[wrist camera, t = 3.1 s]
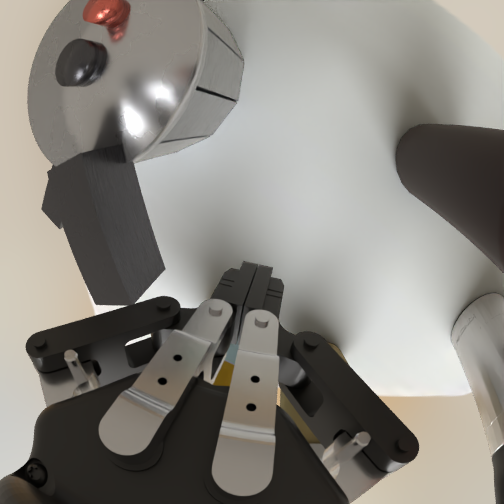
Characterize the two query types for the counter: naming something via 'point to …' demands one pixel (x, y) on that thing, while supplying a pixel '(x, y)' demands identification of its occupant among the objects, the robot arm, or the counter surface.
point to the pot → (195, 100)
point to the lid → (112, 126)
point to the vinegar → (459, 179)
